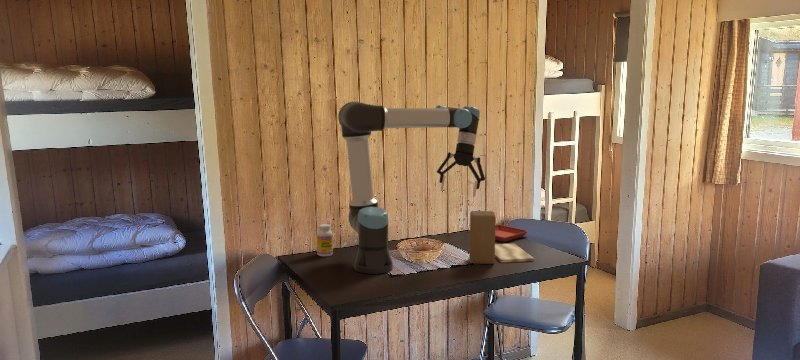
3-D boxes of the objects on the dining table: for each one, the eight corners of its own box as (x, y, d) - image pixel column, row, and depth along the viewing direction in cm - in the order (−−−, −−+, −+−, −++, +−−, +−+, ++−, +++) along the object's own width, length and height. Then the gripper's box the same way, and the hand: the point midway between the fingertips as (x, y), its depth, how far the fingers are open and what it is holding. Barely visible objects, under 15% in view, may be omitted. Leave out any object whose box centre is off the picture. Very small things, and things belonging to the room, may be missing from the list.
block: (493, 257, 260) (494, 210, 257) (494, 264, 250) (495, 215, 247) (469, 257, 261) (470, 210, 258) (469, 264, 251) (470, 215, 248)
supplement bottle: (319, 257, 260) (319, 227, 258) (315, 253, 266) (314, 224, 264) (335, 255, 263) (334, 226, 261) (330, 251, 269) (329, 222, 267)
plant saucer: (504, 244, 284) (504, 237, 283) (474, 236, 297) (474, 230, 296) (528, 237, 296) (528, 230, 295) (498, 230, 309) (498, 224, 308)
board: (500, 262, 253) (501, 259, 253) (483, 247, 276) (483, 244, 276) (533, 261, 255) (533, 258, 255) (514, 246, 278) (514, 243, 278)
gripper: (437, 137, 257) (428, 188, 256) (496, 147, 257) (488, 198, 256) (435, 140, 265) (427, 189, 263) (493, 149, 264) (486, 199, 263)
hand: (457, 193), depth 259 cm, fingers open, 13 cm apart
